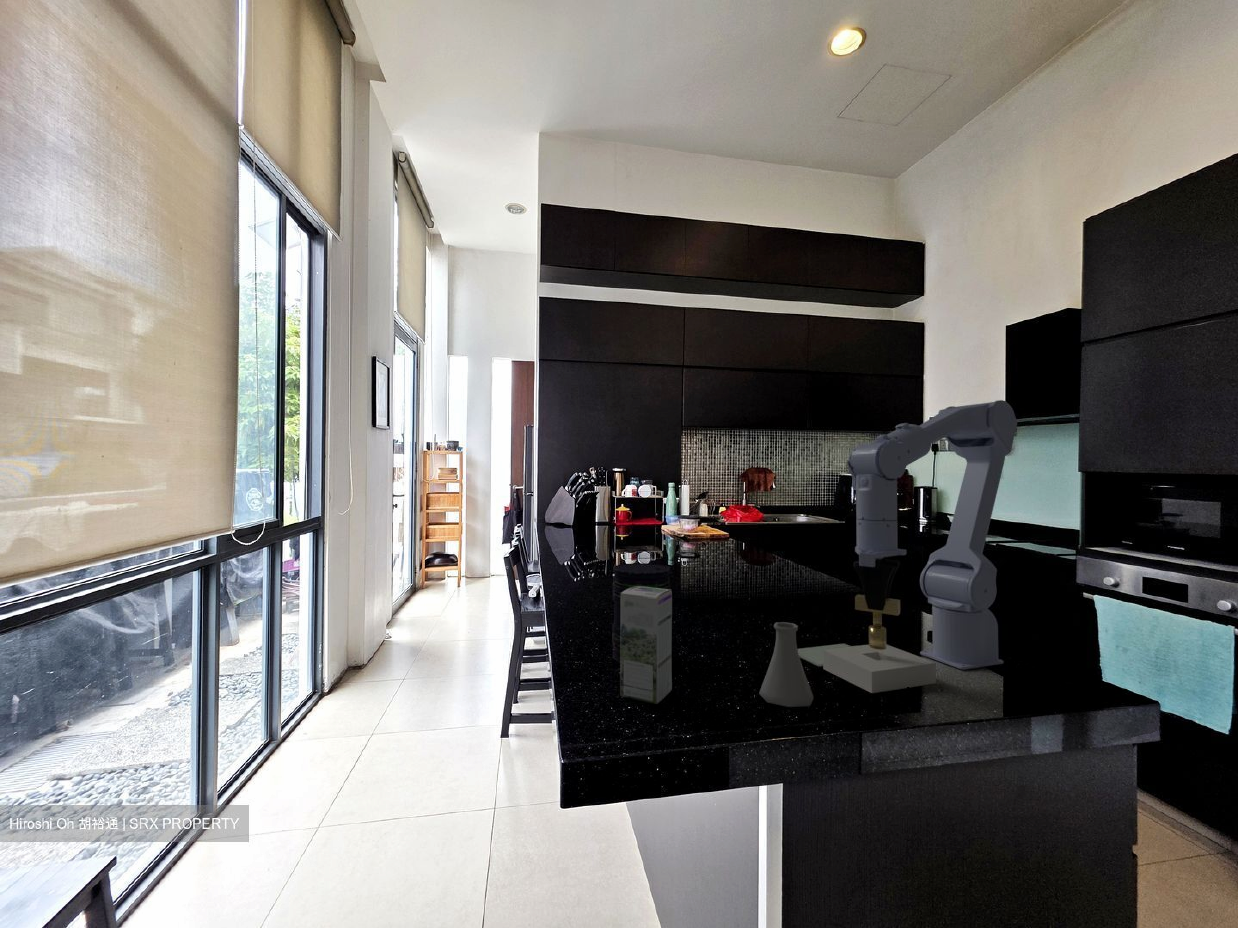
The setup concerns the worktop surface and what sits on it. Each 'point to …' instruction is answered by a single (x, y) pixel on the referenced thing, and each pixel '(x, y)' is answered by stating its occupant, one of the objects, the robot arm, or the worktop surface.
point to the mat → (817, 653)
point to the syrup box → (645, 643)
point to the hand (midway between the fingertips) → (877, 607)
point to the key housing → (879, 668)
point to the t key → (878, 620)
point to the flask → (786, 671)
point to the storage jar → (629, 578)
